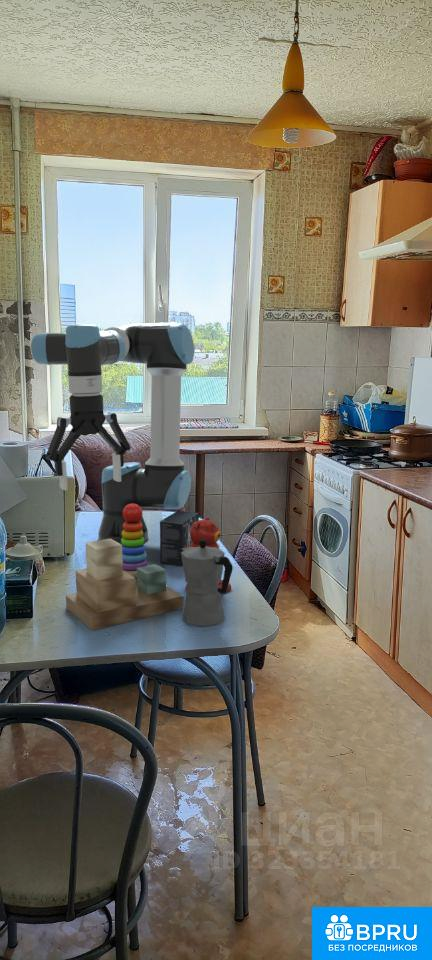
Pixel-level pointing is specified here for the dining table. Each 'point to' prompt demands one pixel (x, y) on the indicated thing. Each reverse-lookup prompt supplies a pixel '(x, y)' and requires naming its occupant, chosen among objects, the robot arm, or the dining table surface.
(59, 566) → the dining table surface
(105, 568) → the oak block
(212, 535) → the stacking bear
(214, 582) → the coffeepot
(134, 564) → the stacking toy
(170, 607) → the base
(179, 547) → the small box
